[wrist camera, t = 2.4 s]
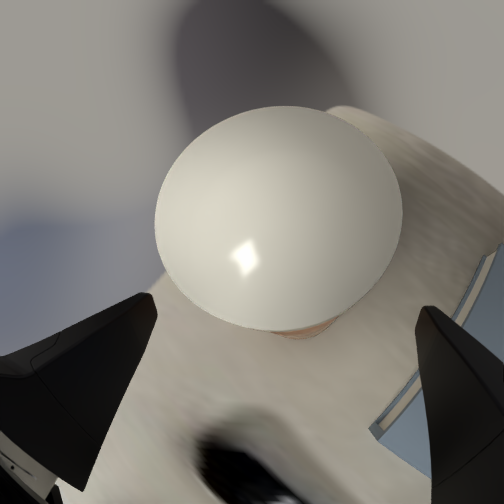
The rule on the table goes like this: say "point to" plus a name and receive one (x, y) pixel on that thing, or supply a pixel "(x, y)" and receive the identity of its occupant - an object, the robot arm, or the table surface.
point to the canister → (279, 219)
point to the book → (411, 397)
